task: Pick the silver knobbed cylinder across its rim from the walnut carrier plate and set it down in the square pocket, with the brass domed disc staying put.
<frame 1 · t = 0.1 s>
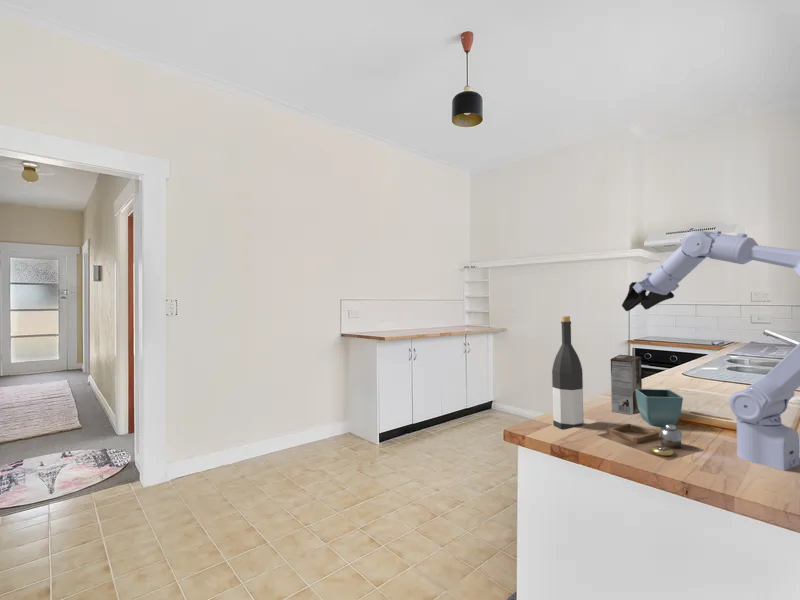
hand: (634, 307, 113), 32 cm above the table, tool tilted 50°, fingers open, 7 cm apart
coffee box: (626, 410, 129), on the table
carrier: (647, 446, 100), on the table
silver knobbed cylinder: (671, 445, 97), point 1 cm above the table, touching carrier
brass domed disc: (662, 453, 93), resting on carrier
wine bottle: (568, 426, 116), on the table
flower pot: (658, 426, 114), on the table
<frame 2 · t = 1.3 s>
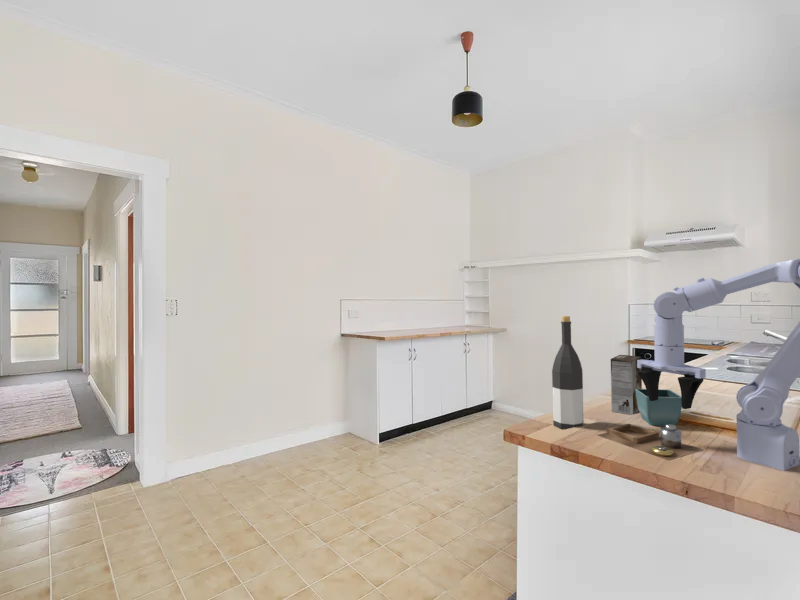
hand: (669, 404, 97), 10 cm above the table, tool pointing down, fingers open, 7 cm apart
nothing on the table moved.
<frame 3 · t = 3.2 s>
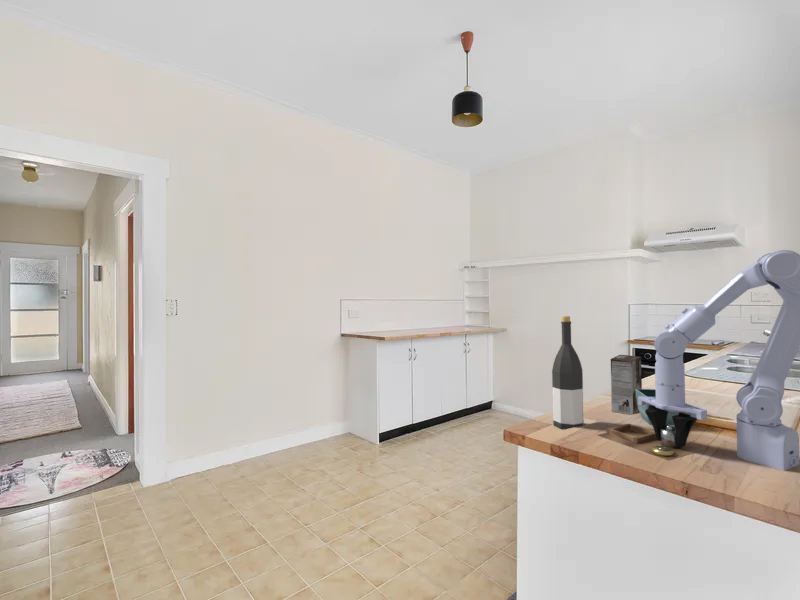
hand: (670, 442, 97), 2 cm above the table, tool pointing down, fingers closed on silver knobbed cylinder, 4 cm apart
silver knobbed cylinder: (671, 445, 97), point 1 cm above the table, touching carrier, gripper
everything else where it was.
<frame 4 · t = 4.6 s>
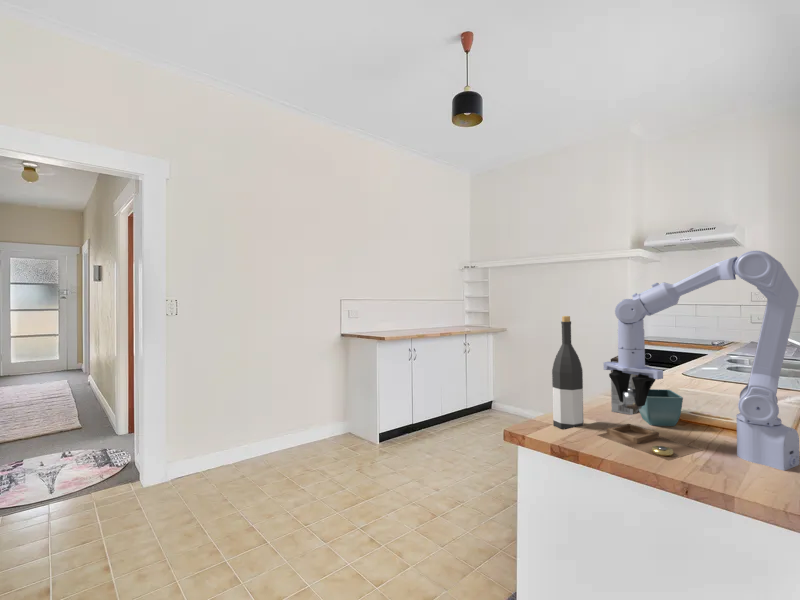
hand: (632, 403, 104), 9 cm above the table, tool pointing down, fingers closed on silver knobbed cylinder, 4 cm apart
silver knobbed cylinder: (632, 406, 104), point 8 cm above the table, touching gripper
everything else where it was.
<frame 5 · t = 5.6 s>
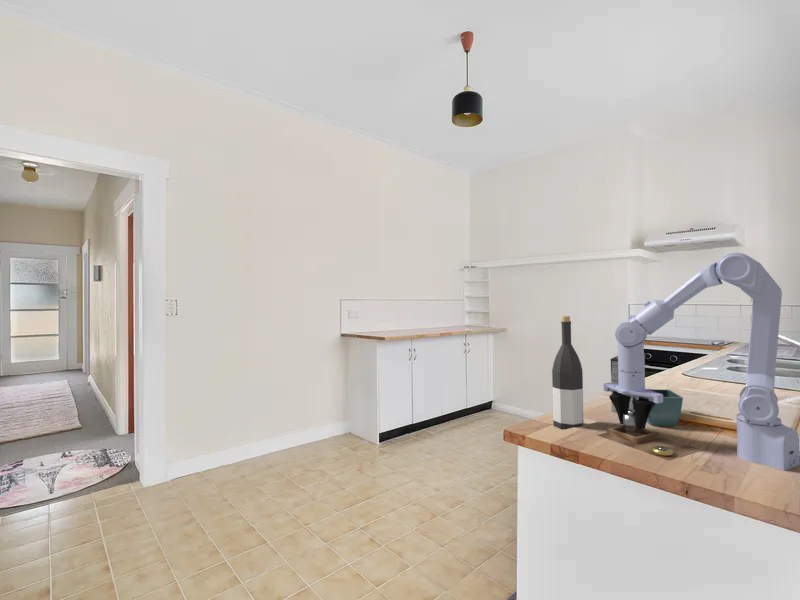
hand: (632, 425, 104), 3 cm above the table, tool pointing down, fingers closed on silver knobbed cylinder, 4 cm apart
silver knobbed cylinder: (632, 429, 104), point 3 cm above the table, touching gripper
everything else where it was.
when the fingers open (3 cm above the table, at t = 6.1 s): silver knobbed cylinder drops 1 cm, resting on carrier.
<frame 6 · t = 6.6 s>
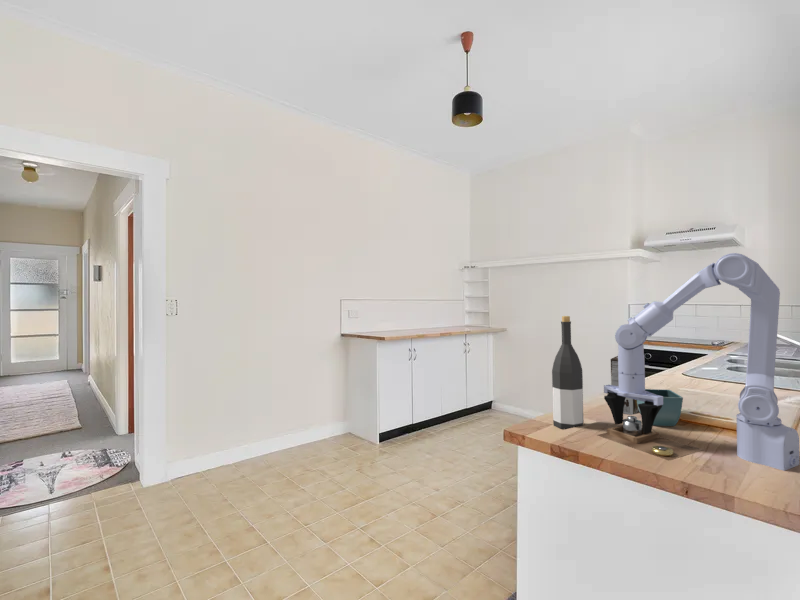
hand: (632, 427, 104), 3 cm above the table, tool pointing down, fingers open, 7 cm apart
silver knobbed cylinder: (632, 435, 104), point 1 cm above the table, touching carrier
everything else where it was.
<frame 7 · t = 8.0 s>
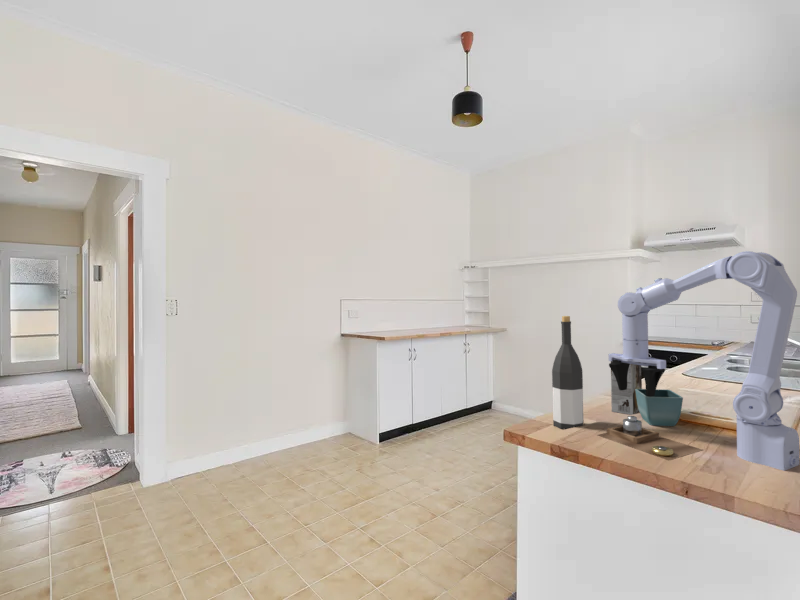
hand: (636, 392, 109), 10 cm above the table, tool pointing down, fingers open, 7 cm apart
nothing on the table moved.
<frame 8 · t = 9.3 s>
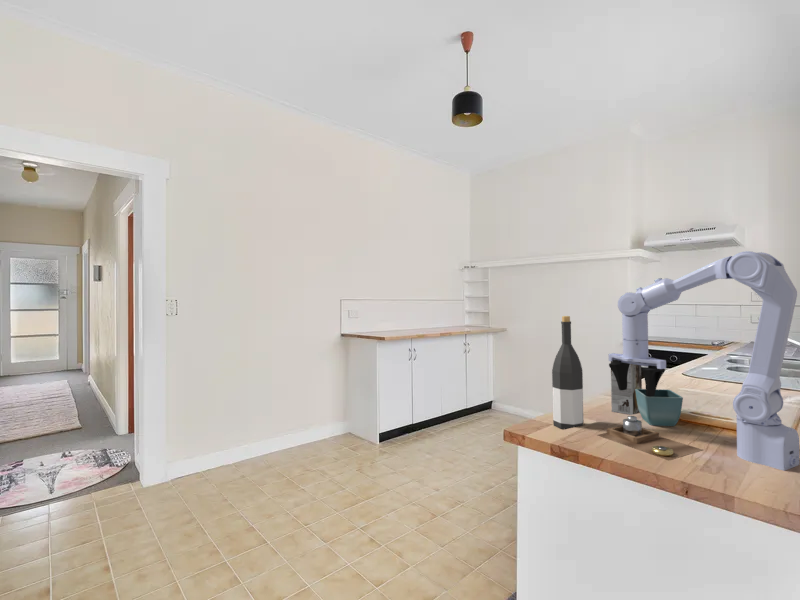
hand: (636, 392, 109), 10 cm above the table, tool pointing down, fingers open, 7 cm apart
nothing on the table moved.
at the end: silver knobbed cylinder 0.0 cm from the target spot on the carrier, point 1.0 cm above the carrier's base; silver knobbed cylinder tilted 0°; the gripper is holding nothing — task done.
